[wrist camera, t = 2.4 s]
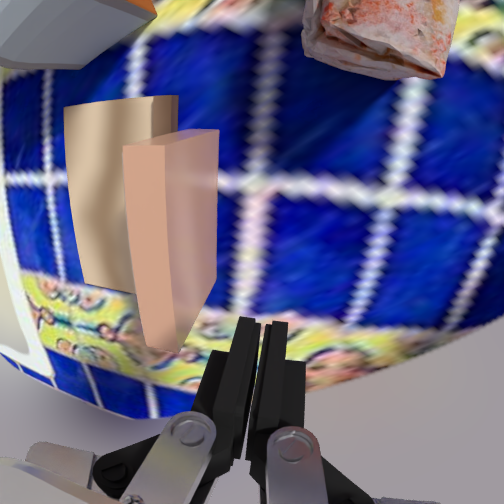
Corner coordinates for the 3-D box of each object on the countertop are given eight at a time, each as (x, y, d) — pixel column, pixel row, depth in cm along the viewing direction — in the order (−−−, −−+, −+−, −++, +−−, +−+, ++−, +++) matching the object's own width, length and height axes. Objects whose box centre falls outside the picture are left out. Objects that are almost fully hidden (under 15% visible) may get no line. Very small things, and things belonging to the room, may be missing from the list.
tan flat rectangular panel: (160, 96, 20) (157, 96, 19) (168, 296, 28) (165, 299, 27) (68, 106, 21) (63, 107, 21) (88, 280, 29) (85, 283, 28)
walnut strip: (178, 95, 20) (171, 95, 19) (182, 298, 27) (178, 306, 26) (160, 96, 20) (153, 96, 19) (168, 296, 28) (163, 303, 27)
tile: (219, 129, 21) (164, 145, 13) (216, 279, 26) (178, 353, 18) (185, 128, 21) (117, 145, 13) (188, 274, 26) (142, 344, 18)
